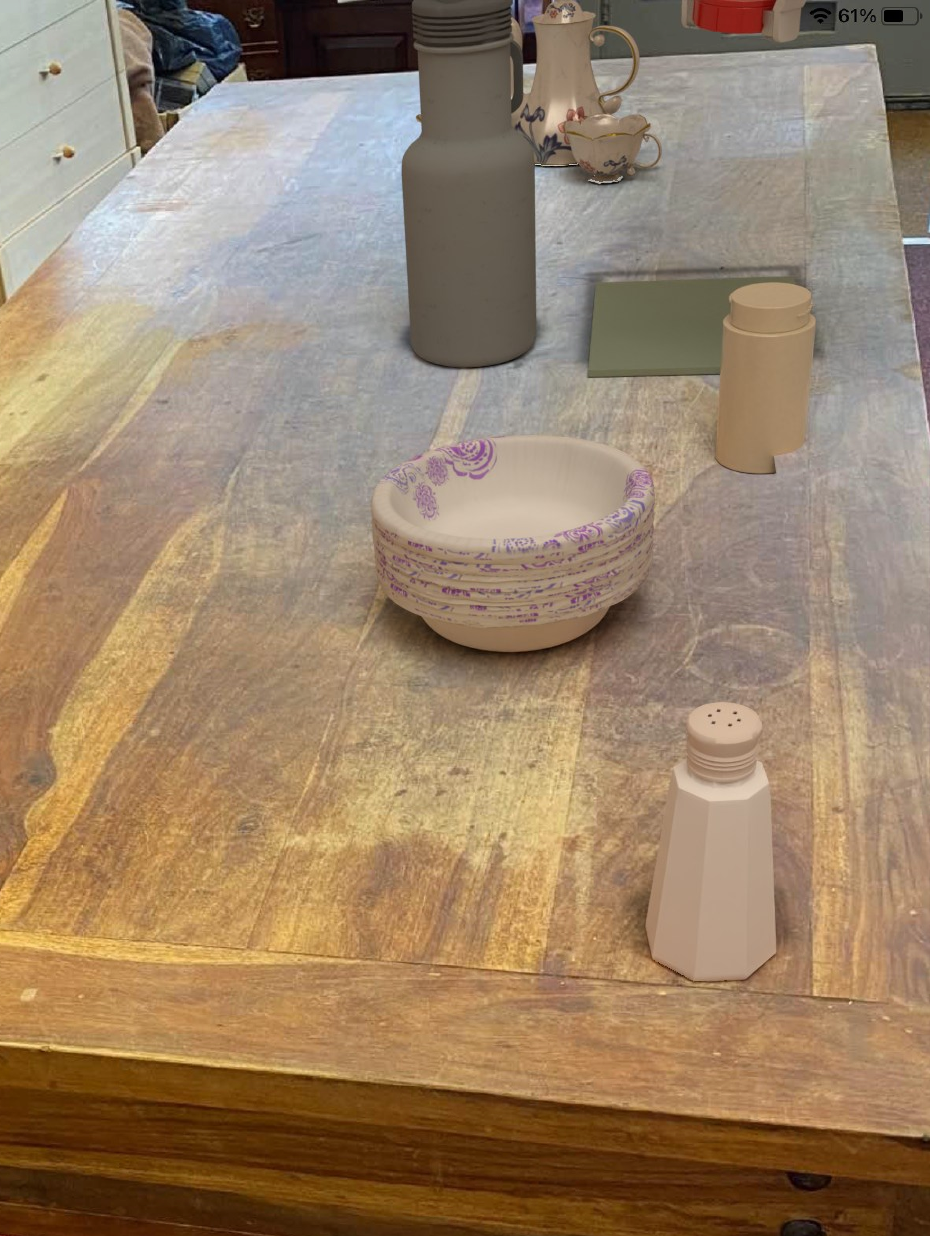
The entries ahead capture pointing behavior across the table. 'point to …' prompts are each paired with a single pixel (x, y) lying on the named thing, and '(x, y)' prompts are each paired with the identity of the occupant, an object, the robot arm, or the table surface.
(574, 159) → the chinaware
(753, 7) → the lid
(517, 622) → the paper bowls
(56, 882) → the table surface
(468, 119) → the water bottle
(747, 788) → the pepper shaker
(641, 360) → the mat
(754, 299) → the jar
